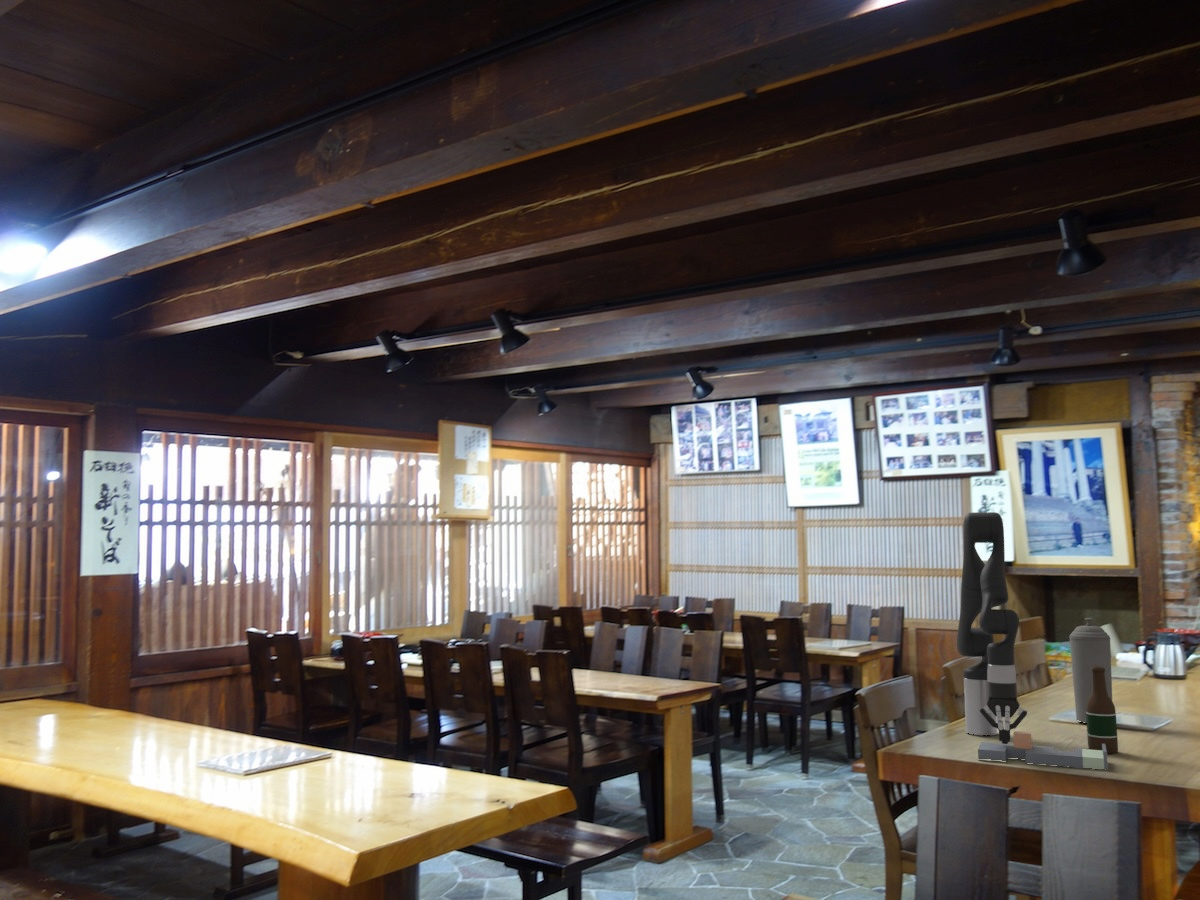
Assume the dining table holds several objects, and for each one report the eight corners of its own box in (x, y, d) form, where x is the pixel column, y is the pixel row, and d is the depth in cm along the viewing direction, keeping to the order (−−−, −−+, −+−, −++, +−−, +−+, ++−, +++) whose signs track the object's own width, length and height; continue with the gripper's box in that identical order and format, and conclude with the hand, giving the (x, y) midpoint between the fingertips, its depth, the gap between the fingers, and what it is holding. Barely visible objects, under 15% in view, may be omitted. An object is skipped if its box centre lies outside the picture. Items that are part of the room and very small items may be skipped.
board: (981, 752, 281) (981, 735, 281) (1106, 761, 267) (1105, 743, 268) (978, 760, 270) (977, 742, 271) (1107, 770, 257) (1106, 751, 257)
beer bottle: (1124, 753, 278) (1119, 667, 281) (1099, 754, 277) (1094, 668, 280) (1106, 748, 286) (1101, 665, 289) (1082, 749, 285) (1077, 665, 287)
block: (1015, 745, 276) (1014, 730, 277) (1032, 746, 274) (1031, 731, 275) (1014, 747, 272) (1013, 733, 273) (1031, 749, 270) (1030, 734, 271)
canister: (1082, 718, 338) (1076, 616, 342) (1122, 723, 329) (1115, 617, 333) (1067, 723, 330) (1061, 618, 334) (1107, 727, 321) (1100, 619, 324)
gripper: (1028, 680, 278) (1031, 743, 276) (978, 678, 283) (981, 739, 282) (1026, 683, 271) (1030, 747, 269) (975, 680, 277) (978, 743, 275)
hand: (1004, 743), depth 275 cm, fingers closed
